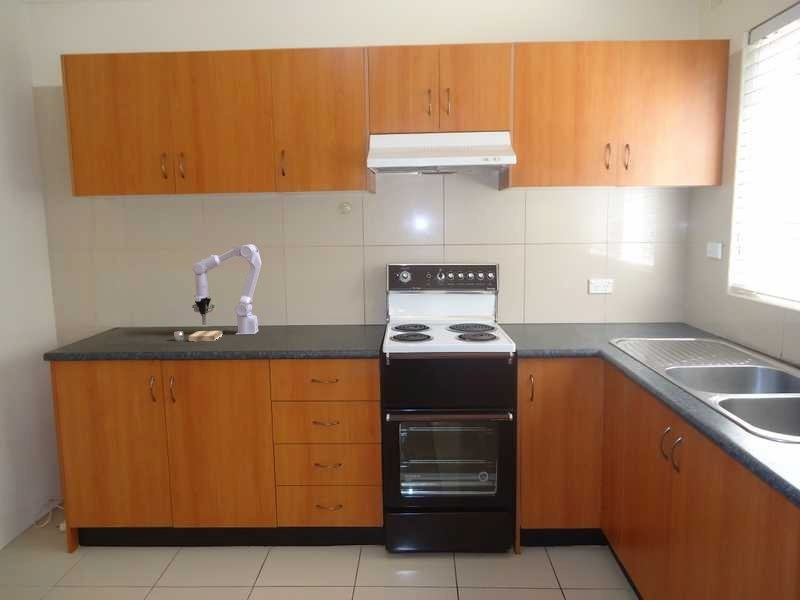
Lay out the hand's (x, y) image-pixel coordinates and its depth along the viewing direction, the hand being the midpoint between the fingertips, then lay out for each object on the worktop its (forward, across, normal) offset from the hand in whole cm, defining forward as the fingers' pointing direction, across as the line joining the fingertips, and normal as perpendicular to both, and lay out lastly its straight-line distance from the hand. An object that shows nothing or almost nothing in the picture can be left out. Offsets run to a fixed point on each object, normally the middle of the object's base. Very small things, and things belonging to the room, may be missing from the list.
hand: (204, 313), depth 271 cm
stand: (+10, +11, +4) cm, 16 cm away
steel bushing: (+10, +13, -8) cm, 18 cm away
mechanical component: (+6, 0, 0) cm, 6 cm away
